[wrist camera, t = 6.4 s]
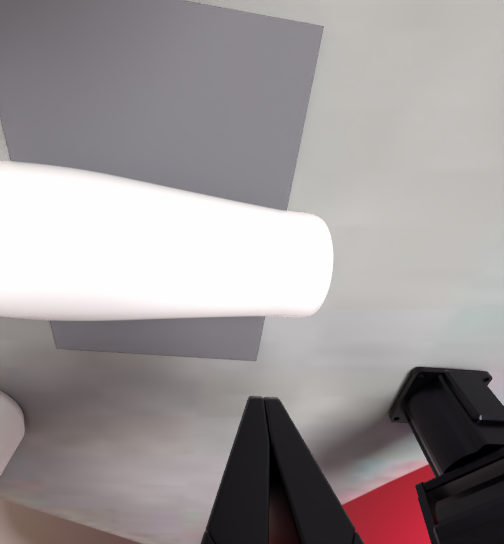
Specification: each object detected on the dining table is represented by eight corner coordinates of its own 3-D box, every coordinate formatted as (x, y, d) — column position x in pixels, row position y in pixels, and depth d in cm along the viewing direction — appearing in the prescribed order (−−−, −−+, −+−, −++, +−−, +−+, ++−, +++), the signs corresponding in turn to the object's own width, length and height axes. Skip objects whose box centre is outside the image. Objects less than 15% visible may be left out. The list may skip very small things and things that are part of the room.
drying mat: (255, 357, 24) (256, 361, 24) (59, 344, 22) (56, 348, 22) (321, 27, 14) (323, 26, 13) (-31, -38, 12) (-39, -41, 12)
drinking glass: (303, 354, 17) (-12, 344, 14) (288, 257, 21) (41, 235, 18) (362, 282, 12) (-116, 244, 9) (327, 172, 16) (-11, 122, 13)
